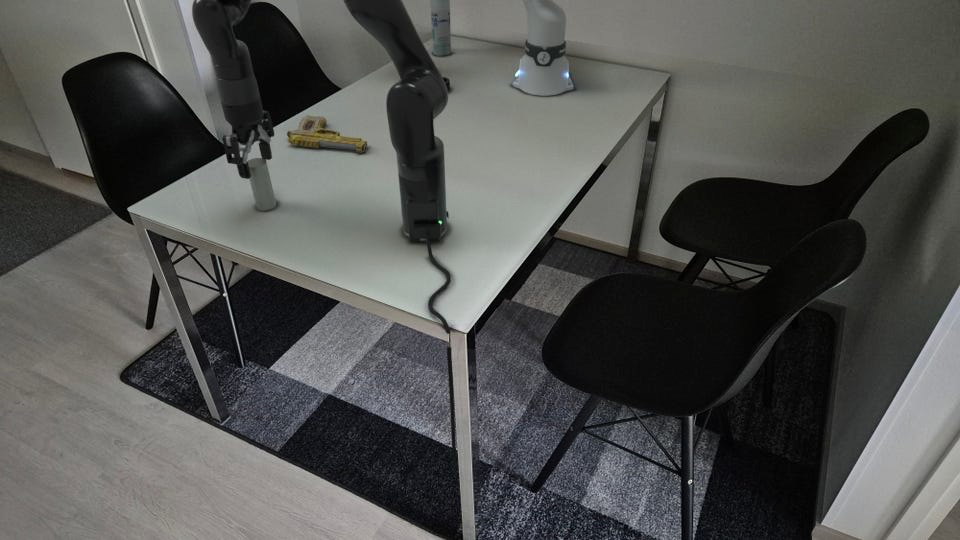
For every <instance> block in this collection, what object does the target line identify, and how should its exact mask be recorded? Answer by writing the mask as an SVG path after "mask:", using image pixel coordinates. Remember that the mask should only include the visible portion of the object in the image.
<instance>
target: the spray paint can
mask: <svg viewBox="0 0 960 540" xmlns="http://www.w3.org/2000/svg"><path fill="white" fill-rule="evenodd" d="M429 5H430V7H429V8H430V22H431V23H430V24H431V41H432V42H431V43H432V53H433V55H434V56H438V57H446V56H449V55H451V54H452V40H451V39H452V38H451V37H452V36H451V0H429Z"/></svg>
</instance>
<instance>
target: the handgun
mask: <svg viewBox="0 0 960 540" xmlns="http://www.w3.org/2000/svg"><path fill="white" fill-rule="evenodd" d="M327 122H328V121H327V119H326V117H324V116H317V115H303V116H302V117H301V118H300V121H299V122H298V123H299V124H298V128H297V129H293V130H291V129H290V130H289V129H288V130H287V131H286V136H287V142H288V143H292V144H293V145H294V146H298V147H305V148H306V147H307V148H315V149H319V148H321V147H322V148H330V149H337V150H347V151H355V152H356V153H360V154H363V153H364V152H366V151H367V147H368V141H367V140H362V139H363V138H362V137H354V136H342V135H341V132H340V131H338V130H333V129H326V128H324V127H325V125H327Z"/></svg>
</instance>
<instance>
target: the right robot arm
mask: <svg viewBox="0 0 960 540" xmlns="http://www.w3.org/2000/svg"><path fill="white" fill-rule="evenodd" d="M522 1H523V4H524V7H525V12H526V19H527V20H526V21H527V22H526V23H527V35H526V39H525V44H524V55H523V56H522V57H521V58H520V59H519V66H518V67H519V68H518V71H516V73H515V77H516V78H515V79H514V80H513V81H512V87H514V88H517V89H520V91H522V92H524V93H526V94H529V95H533V96H542V97H546V96H547V97H548V96H549V97H550V96H556V95H560V94H562V93H564V92H569V91H572V90H574V89H575V88H574V87H575V86H574V83H573V80H572V78H571V76H570V71H569V69H570V62H569V60H568V59H567V58H566V56H565V55H566V49H567V41H566V39H565V38H566V27H567V15H566V12H565V11H564V9H563V8H562V7H561V6H560V5H559V4H557V3H556V2H554V0H522Z"/></svg>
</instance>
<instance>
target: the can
mask: <svg viewBox="0 0 960 540" xmlns="http://www.w3.org/2000/svg"><path fill="white" fill-rule="evenodd" d="M247 162H248V165H249V169H250V173H251V177H250V178H249V179H248V180H249V184H250V188H251V191H252V195H253V198H254V202H255V203H254V204H255V206H256V209H257V210H258V211H261V212H266V211H271V210H273V209H275V208H276V206H277V201H276V196H275V192H274V188H273V183H272V179H271V175H270V171H269V166H268V162H267V160H266V159H263V158H262V157H254V158H251V159H249V160H248V159H247Z"/></svg>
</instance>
